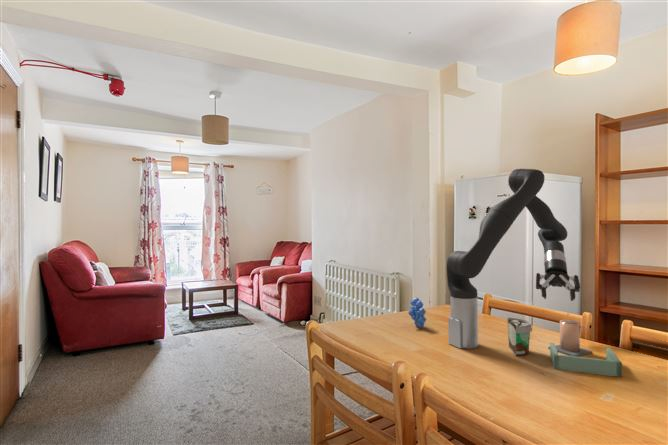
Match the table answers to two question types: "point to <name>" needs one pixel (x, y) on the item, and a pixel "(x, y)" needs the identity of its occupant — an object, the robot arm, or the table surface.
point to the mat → (579, 353)
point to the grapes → (417, 312)
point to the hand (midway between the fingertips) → (558, 298)
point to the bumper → (587, 363)
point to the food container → (519, 336)
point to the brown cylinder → (569, 335)
